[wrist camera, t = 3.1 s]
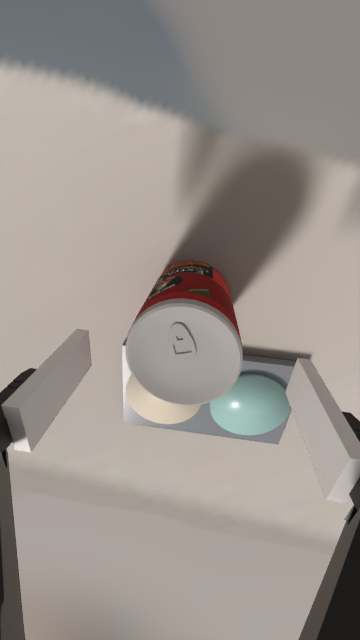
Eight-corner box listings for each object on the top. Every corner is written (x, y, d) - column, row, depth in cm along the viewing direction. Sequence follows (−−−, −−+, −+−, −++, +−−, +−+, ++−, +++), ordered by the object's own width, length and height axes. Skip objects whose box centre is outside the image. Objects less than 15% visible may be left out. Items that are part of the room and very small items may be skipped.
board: (126, 415, 35) (122, 426, 33) (125, 339, 29) (120, 348, 28) (275, 436, 34) (279, 448, 32) (303, 361, 28) (309, 372, 27)
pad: (205, 425, 32) (205, 429, 32) (215, 368, 28) (215, 371, 28) (277, 435, 32) (278, 439, 31) (298, 378, 28) (300, 382, 27)
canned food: (209, 244, 24) (211, 280, 14) (242, 315, 26) (263, 387, 17) (140, 279, 26) (99, 332, 16) (177, 341, 29) (161, 419, 19)
